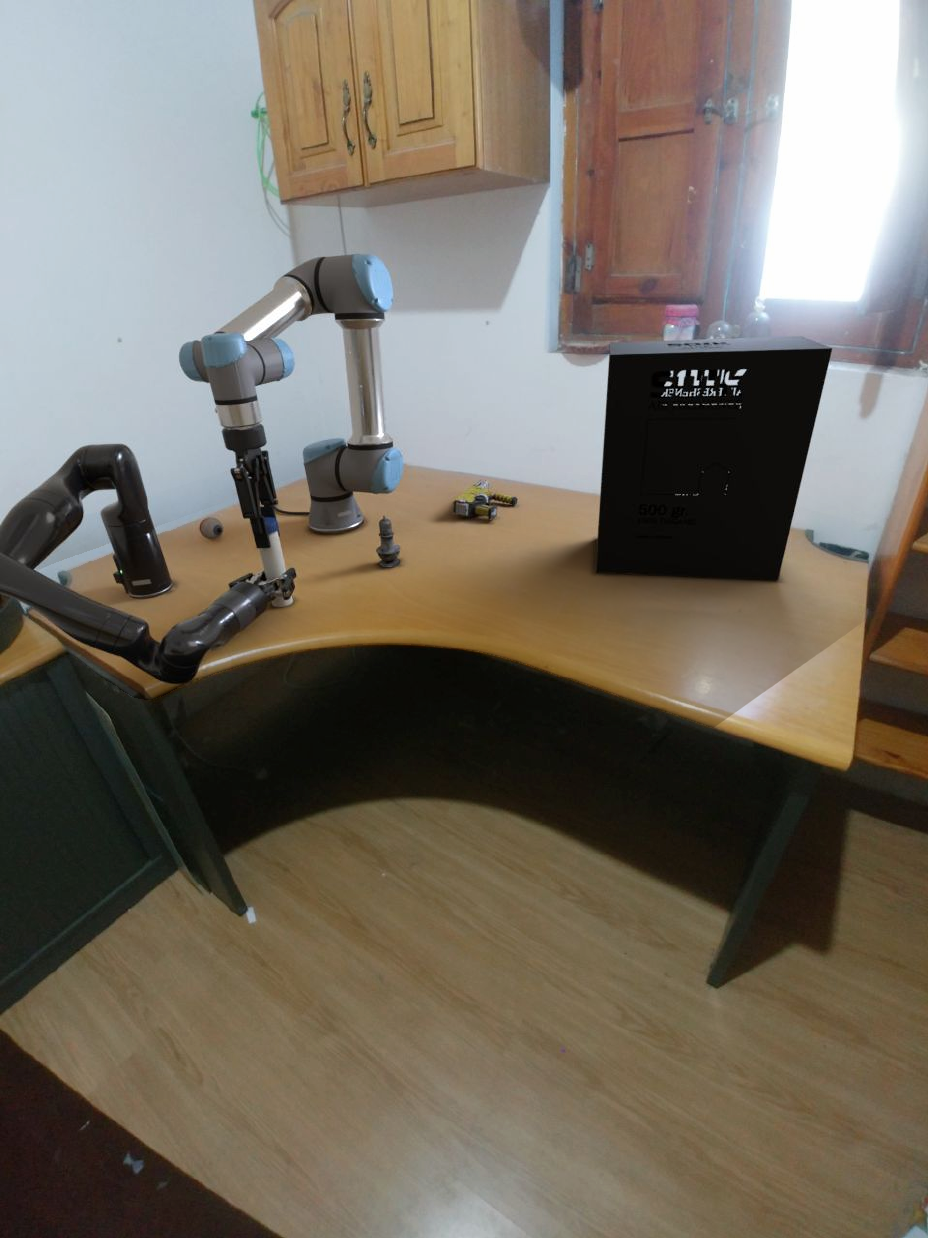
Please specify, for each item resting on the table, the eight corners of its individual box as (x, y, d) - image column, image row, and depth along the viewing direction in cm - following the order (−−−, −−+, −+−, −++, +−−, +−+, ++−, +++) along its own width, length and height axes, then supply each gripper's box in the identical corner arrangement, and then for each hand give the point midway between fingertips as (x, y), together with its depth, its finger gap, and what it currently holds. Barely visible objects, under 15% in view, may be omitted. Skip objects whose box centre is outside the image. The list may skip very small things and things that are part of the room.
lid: (249, 535, 120) (247, 526, 119) (258, 526, 124) (255, 517, 123) (274, 534, 120) (272, 525, 119) (282, 525, 124) (280, 516, 123)
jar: (276, 597, 133) (258, 520, 124) (295, 598, 132) (278, 520, 123) (269, 607, 129) (250, 528, 120) (288, 607, 128) (270, 528, 119)
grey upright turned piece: (398, 568, 142) (392, 520, 136) (374, 567, 143) (367, 519, 137) (405, 558, 147) (399, 511, 141) (382, 557, 148) (376, 510, 142)
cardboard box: (758, 542, 144) (801, 336, 122) (778, 580, 127) (832, 348, 105) (597, 537, 152) (610, 342, 129) (595, 572, 135) (610, 354, 112)
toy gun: (525, 484, 182) (478, 477, 186) (503, 508, 162) (451, 499, 166) (524, 500, 184) (477, 492, 188) (502, 525, 164) (450, 516, 168)
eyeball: (213, 544, 161) (207, 523, 158) (198, 540, 164) (191, 520, 161) (231, 536, 165) (225, 516, 162) (216, 533, 168) (210, 512, 165)
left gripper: (210, 622, 119) (258, 583, 133) (273, 629, 115) (316, 588, 130) (200, 588, 115) (250, 552, 130) (265, 594, 112) (310, 557, 126)
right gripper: (240, 415, 120) (266, 526, 131) (201, 437, 104) (233, 560, 116) (277, 414, 119) (299, 525, 131) (243, 436, 104) (271, 559, 115)
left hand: (283, 570), depth 129 cm, fingers closed on jar, 4 cm apart
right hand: (268, 541), depth 123 cm, fingers closed on lid, 5 cm apart
